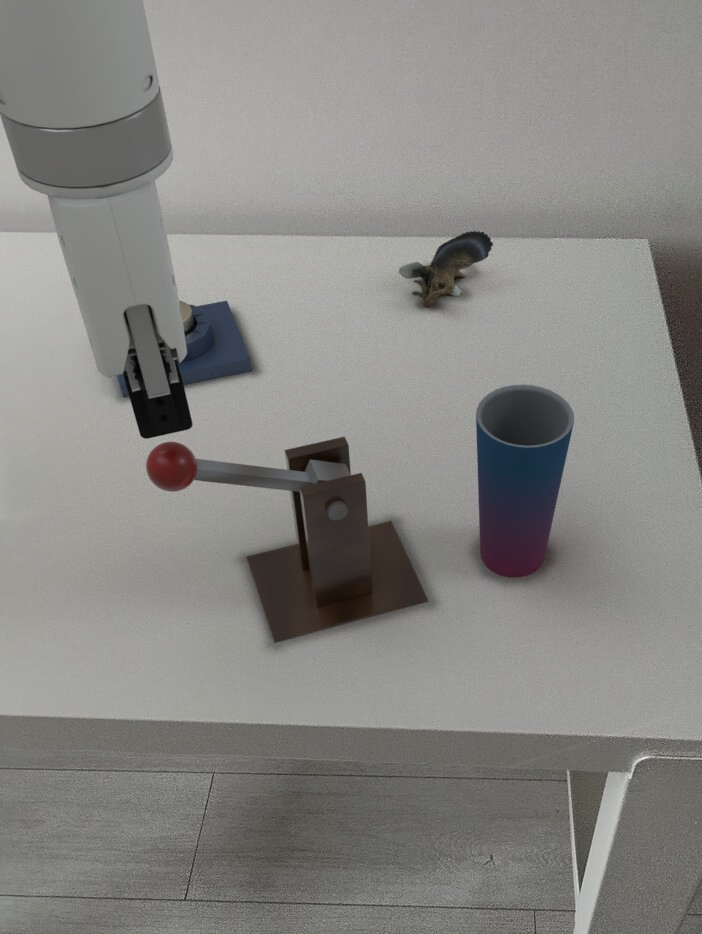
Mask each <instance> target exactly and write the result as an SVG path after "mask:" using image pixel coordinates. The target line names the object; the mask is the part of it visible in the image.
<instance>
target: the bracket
mask: <svg viewBox="0 0 702 934" xmlns="http://www.w3.org/2000/svg"><path fill="white" fill-rule="evenodd" d="M347 440H348V439H347V438H346V437H345V436H340V437H337V438H332V439H328V440H323V441H319V442H315V443H310V444H305V445H301V446H296V447H292V448H287V449H284V457H285V464H286V470H293V471H302V472H305V470H306V467H307V465H308V463H309V460H318V461H326V462H333V463H341V464H346V466H347V468H348V471H349V473H350V476H345V477H341V478H337V479H333V480H328V481H324V482H320V483H315V484H311V485H307V486H303V487H300V488H299V489H300V492H297V491H289V493H290V502H291V509H292V514H293V515H292V516H293V522H294V523H293V524H294V530H295V539H296V544H292V545H288V546H284V547H279V548H276V549H272V550H268V551H264V552H263V551H262V552H260V553H256V554H251V555H248V556H247V555H246V557H245V559H246V561H247V564H248V568H249V570H250V573H251V576H252V580H253V582H254V585H255V588H256V591H257V595H258V597H259V598H258V599H259V601H260V604H261V607H262V609H263V613H264V616H265V619H266V621H267V625H268V628H269V631H270V634H271V637H272V641H273V643H274V644H275V643H279V642H282V641H287V640H290V639H294V638H298V637H301V636H305V635H309V634H313V633H317V632H320V631H324V630H327V629H331V628H335V627H339V626H343V625H346V624H351V623H354V622H358V621H361V620H365V619H369V618H372V617H376V616H381V615H384V614H387V613H391V612H395V611H398V610H402V609H405V608H410V607H414V606H417V605H420V604H425V603H428V602H429V599H428V597H427V594H426V592H425V590H424V588H423V586H422V584H421V582H420V579H419V577H418V575H417V573H416V571H415V569H414V566H413V564H412V562H411V560H410V558H409V556H408V554H407V552H406V550H405V548H404V545H403V543H402V541H401V539H400V537H399V535H398V532H397V531H396V528H395V526H394V524H393V522H392V520H389V521H385V522H380V523H376V524H373V525H369V516H368V514H369V513H368V499H367V498H368V497H367V483H366V482H367V481H366V480H365V477H364V475H363V473H362V472H359V473H355V474H354V473H353V474H352V471H351V458H350V457H351V456H350V445H349V443H348V441H347Z"/></svg>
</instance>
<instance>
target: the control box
mask: <svg viewBox="0 0 702 934" xmlns="http://www.w3.org/2000/svg"><path fill="white" fill-rule="evenodd" d="M187 304H188V305H189V306H190V307H191V310H192V315H193V320H194V325H195V327H194V330H193V331H192V332H191V333H190V334H188V335H186V336H185V341H186V348H187V354H186V356H185V358H184V359H183V361H182V362H181V363H179V362H178V360H177V359H176V360H174V361H177V364H178V367H179V371H180V373H181V376H182V380H183V385H184V386H186V385H187V386H188V385H192V384H196V383H200V382H206V381H211V380H216V379H221V378H224V377H225V378H227V377H231V376H235V375H240V374H244V373H251V372H253V367H252V360H251V356H250V355H249V352H248V349H247V347H246V344H245V342H244V339H243V337H242V334H241V332H240V329H239V327H238V325H237V321H236V319H235V317H234V315H233V312H232V309H231V307H230V304H229V302H228V300H223V301H217V302H212V303H206V304H202V305H194V304H189V303H187ZM133 362H134V361H133ZM134 365H135V363H134ZM124 371H126V367H125V368H124ZM116 377H117V380H118V385H119V388H120V392H121V395H122V398H127V397H129V394H128V390H127V387H126V383H125V379H124V376H123V374H120V375H116Z"/></svg>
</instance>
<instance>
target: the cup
mask: <svg viewBox="0 0 702 934" xmlns="http://www.w3.org/2000/svg"><path fill="white" fill-rule="evenodd" d="M574 424H575V415H574V411H573V409H572V407H571V405H570V403H569V402H568V401H567V400H566V399H565V398H564V397H563V396H561V395H560V394H558V393H556V392H555V391H553V390H552V389H551V390H550V389H548V388H546V387H542V386H537V385H533V384H512V385H511V384H510V385H507V386H503V387H502V386H501V387H499V388H496V389H495V390H493V391H491V392H489V393H488V394H486V395H485V396H484V397H483V398H482V399H481V401H480V402H479V403H478V405H477V408H476V411H475V425H476V431H475V432H476V460H477V462H476V463H477V488H478V489H477V490H478V491H477V493H478V495H477V496H478V523H479V525H478V526H479V527H478V528H479V553H480V554H479V555H480V559H481V561H482V563H483V564H484V566H485V567H486V568H487V569H489V570H490V571H491V572H493V573H494V574H496V575H499V576H502V577H505V578H522V577H526V576H530V575H532V574H534V573H535V572H537V571H538V570H539V569H541V567H542V565H543V564H544V561H545V558H546V554H547V553H546V552H547V547H548V545H549V544H548V543H549V540H550V534H551V530H552V525H553V520H554V515H555V511H556V508H557V507H556V506H557V502H558V497H559V491H560V488H561V484H562V480H563V474H564V469H565V465H566V461H567V456H568V451H569V446H570V442H571V438H572V433H573V428H574Z"/></svg>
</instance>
